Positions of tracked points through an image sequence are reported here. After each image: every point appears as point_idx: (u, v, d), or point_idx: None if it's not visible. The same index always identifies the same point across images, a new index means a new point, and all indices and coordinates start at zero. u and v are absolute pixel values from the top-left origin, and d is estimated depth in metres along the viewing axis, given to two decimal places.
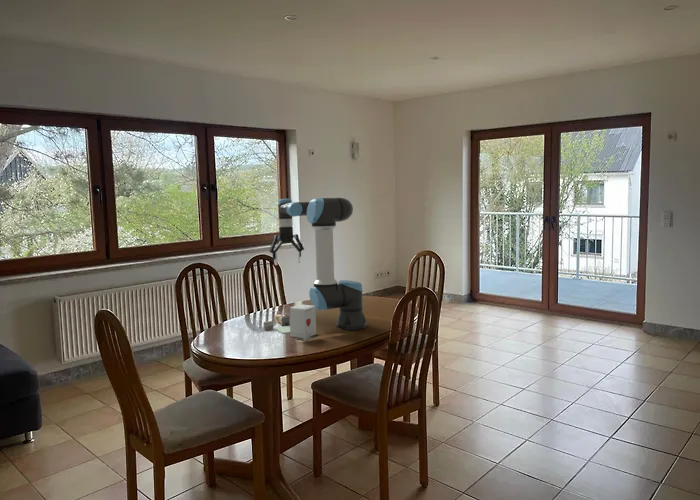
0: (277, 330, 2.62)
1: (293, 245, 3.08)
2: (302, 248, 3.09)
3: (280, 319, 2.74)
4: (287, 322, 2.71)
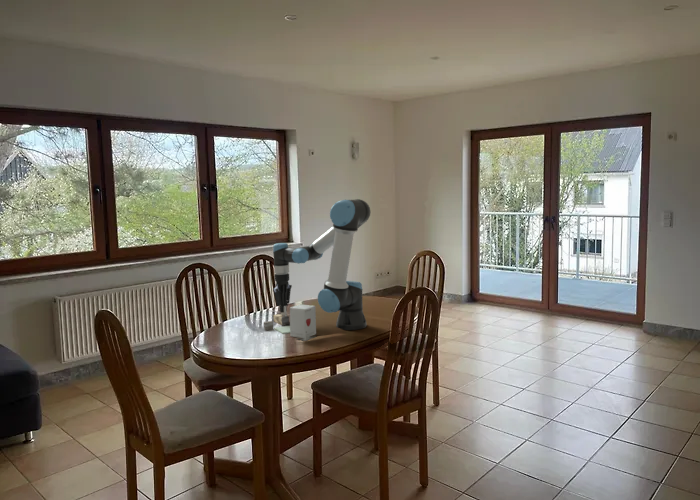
0: (277, 330, 2.62)
1: None
2: (288, 301, 2.82)
3: (280, 319, 2.74)
4: (287, 322, 2.71)
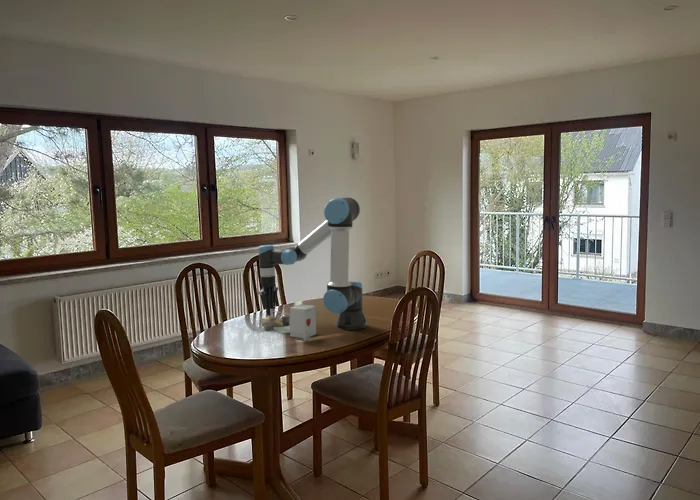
0: (277, 330, 2.62)
1: None
2: (274, 304, 2.78)
3: (279, 320, 2.71)
4: (288, 321, 2.72)
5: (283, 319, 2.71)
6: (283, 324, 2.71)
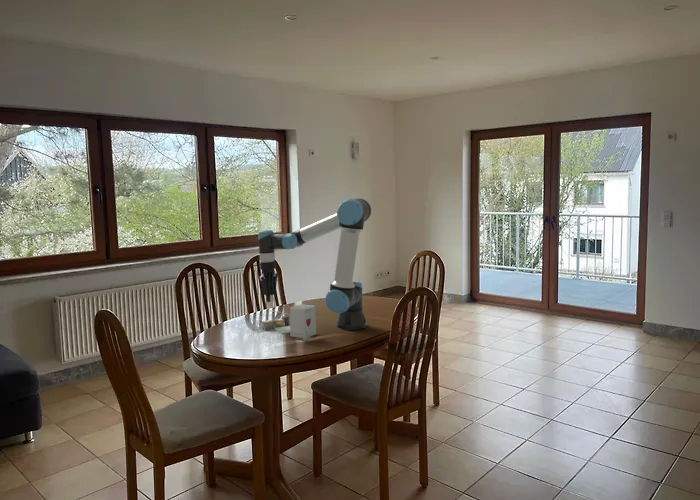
0: (277, 330, 2.62)
1: None
2: (275, 290, 2.74)
3: (281, 321, 2.70)
4: None
5: (285, 319, 2.71)
6: (285, 324, 2.71)
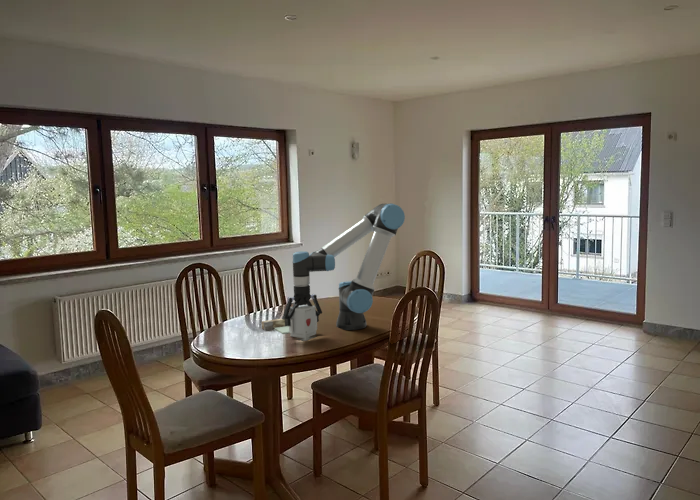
0: (277, 330, 2.62)
1: None
2: (320, 311, 2.55)
3: (281, 321, 2.70)
4: None
5: (285, 319, 2.71)
6: (285, 324, 2.71)
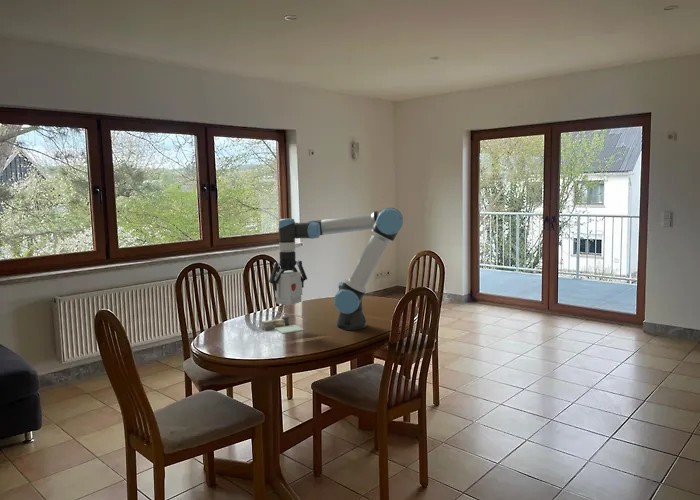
0: (277, 330, 2.62)
1: None
2: (305, 277, 2.63)
3: (281, 321, 2.70)
4: None
5: (285, 319, 2.71)
6: (285, 324, 2.71)
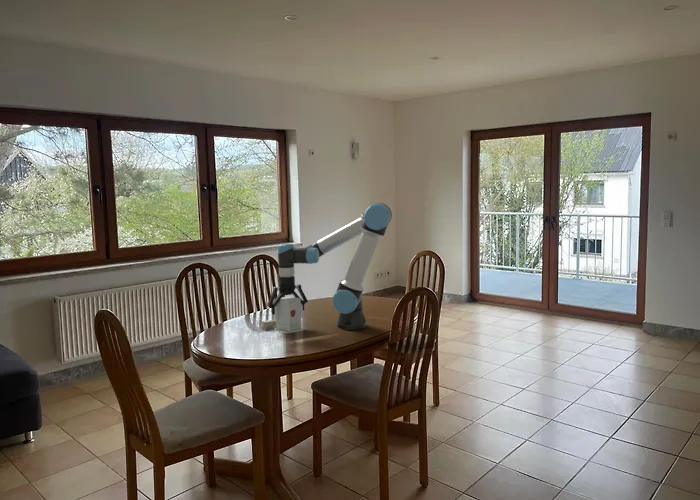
0: (277, 330, 2.62)
1: None
2: (306, 300, 2.66)
3: None
4: None
5: None
6: None
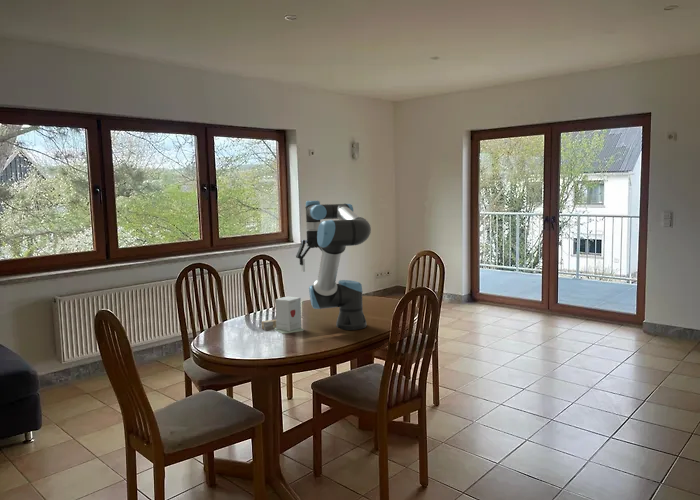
0: (277, 330, 2.62)
1: (321, 250, 2.89)
2: None
3: None
4: None
5: None
6: None
